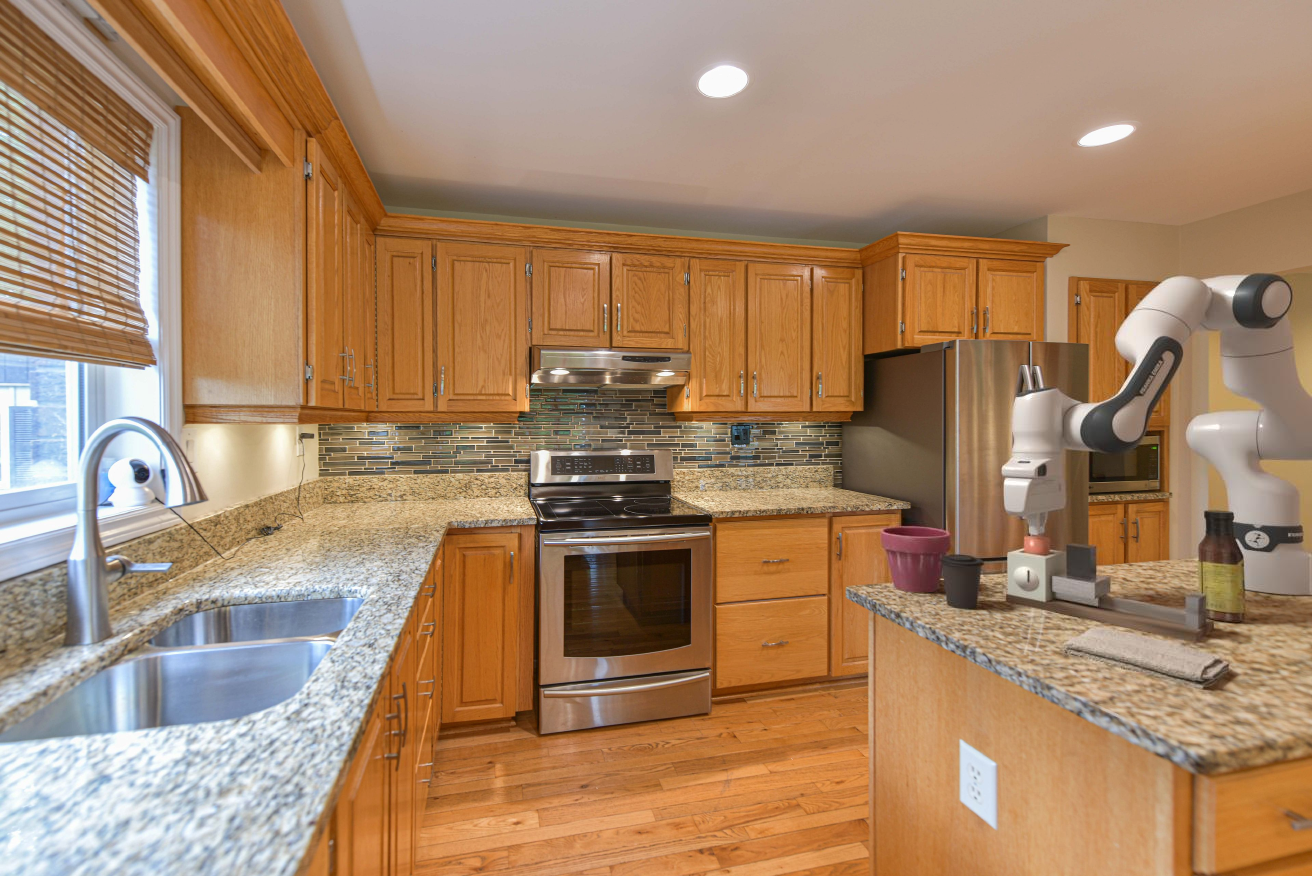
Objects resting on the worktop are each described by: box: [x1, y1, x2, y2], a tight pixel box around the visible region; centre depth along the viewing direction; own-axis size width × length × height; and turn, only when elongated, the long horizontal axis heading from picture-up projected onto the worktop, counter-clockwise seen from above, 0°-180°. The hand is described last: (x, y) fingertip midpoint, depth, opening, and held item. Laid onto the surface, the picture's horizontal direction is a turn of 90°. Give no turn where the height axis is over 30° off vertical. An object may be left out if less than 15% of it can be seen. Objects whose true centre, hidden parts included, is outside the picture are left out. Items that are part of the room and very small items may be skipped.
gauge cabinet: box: [1006, 547, 1066, 602], centre depth 122 cm, size 10×7×10 cm
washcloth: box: [1062, 626, 1230, 691], centre depth 91 cm, size 12×18×3 cm, turn 35°
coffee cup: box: [939, 553, 985, 610], centre depth 120 cm, size 8×8×10 cm
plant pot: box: [880, 525, 951, 594], centre depth 133 cm, size 14×14×13 cm
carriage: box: [1052, 542, 1111, 606], centre depth 116 cm, size 8×7×11 cm
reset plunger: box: [1023, 535, 1051, 556], centre depth 122 cm, size 4×4×6 cm
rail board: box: [1005, 592, 1215, 643], centre depth 113 cm, size 11×30×6 cm, turn 36°
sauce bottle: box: [1197, 509, 1247, 623], centre depth 110 cm, size 7×6×20 cm
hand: (1036, 534), depth 122 cm, fingers closed
